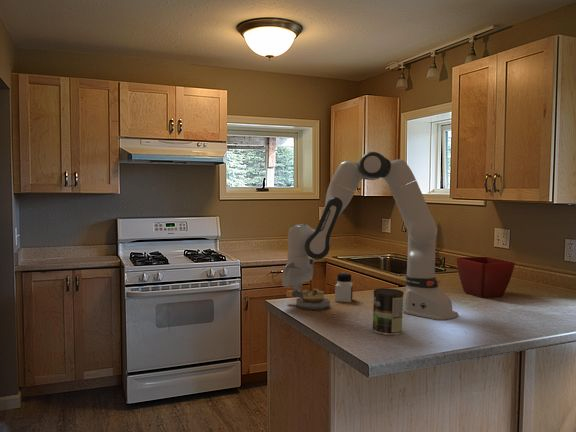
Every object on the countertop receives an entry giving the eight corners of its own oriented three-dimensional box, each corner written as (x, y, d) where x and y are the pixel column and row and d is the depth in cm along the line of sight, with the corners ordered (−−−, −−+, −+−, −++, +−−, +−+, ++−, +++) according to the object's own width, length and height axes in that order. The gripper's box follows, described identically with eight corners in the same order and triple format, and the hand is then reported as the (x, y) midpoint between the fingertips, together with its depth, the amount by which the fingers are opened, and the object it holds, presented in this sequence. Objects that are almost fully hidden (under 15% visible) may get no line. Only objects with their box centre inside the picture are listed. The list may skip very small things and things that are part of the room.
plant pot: (514, 297, 233) (516, 261, 232) (482, 300, 226) (484, 263, 225) (484, 289, 251) (485, 256, 250) (454, 291, 244) (455, 257, 243)
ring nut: (326, 298, 211) (326, 289, 211) (320, 302, 202) (320, 293, 202) (290, 294, 216) (291, 286, 216) (283, 298, 208) (283, 290, 208)
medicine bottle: (351, 302, 217) (351, 275, 216) (334, 301, 218) (335, 274, 217) (352, 299, 224) (353, 272, 223) (336, 298, 225) (337, 271, 224)
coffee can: (376, 335, 169) (377, 294, 168) (369, 327, 179) (370, 288, 178) (406, 335, 169) (407, 294, 169) (397, 326, 180) (398, 288, 179)
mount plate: (336, 307, 207) (336, 300, 207) (311, 312, 198) (311, 305, 198) (314, 300, 218) (314, 294, 218) (289, 305, 209) (289, 298, 209)
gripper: (291, 265, 202) (290, 299, 202) (315, 259, 219) (315, 290, 220) (278, 264, 205) (277, 297, 206) (303, 258, 222) (302, 289, 223)
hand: (297, 293), depth 213 cm, fingers closed
